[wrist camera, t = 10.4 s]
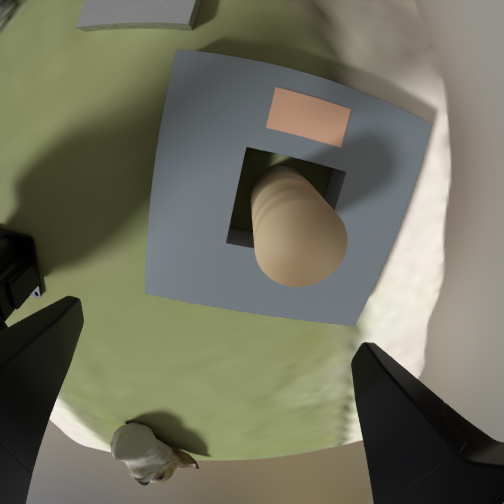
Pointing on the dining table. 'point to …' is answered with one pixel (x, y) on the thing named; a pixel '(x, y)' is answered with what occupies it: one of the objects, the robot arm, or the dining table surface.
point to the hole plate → (285, 143)
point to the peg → (294, 229)
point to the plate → (138, 14)
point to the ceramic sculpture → (147, 454)
